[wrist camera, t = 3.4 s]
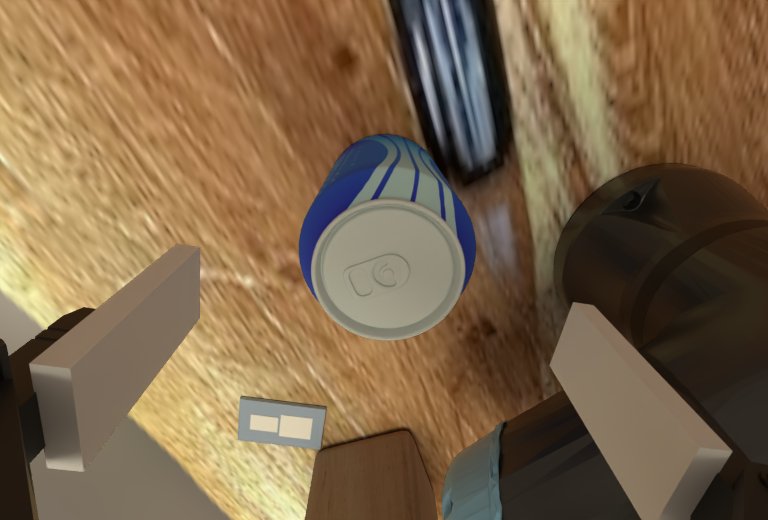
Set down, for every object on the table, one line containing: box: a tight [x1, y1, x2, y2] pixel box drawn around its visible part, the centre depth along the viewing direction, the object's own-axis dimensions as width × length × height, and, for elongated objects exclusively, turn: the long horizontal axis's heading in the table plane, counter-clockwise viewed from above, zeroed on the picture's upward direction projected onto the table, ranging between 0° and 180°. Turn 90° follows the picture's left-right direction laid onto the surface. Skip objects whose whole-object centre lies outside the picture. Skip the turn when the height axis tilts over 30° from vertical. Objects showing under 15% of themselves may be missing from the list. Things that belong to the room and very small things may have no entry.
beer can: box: [299, 134, 476, 341], centre depth 26 cm, size 8×8×16 cm
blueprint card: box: [238, 396, 326, 450], centre depth 41 cm, size 8×5×1 cm, turn 80°
